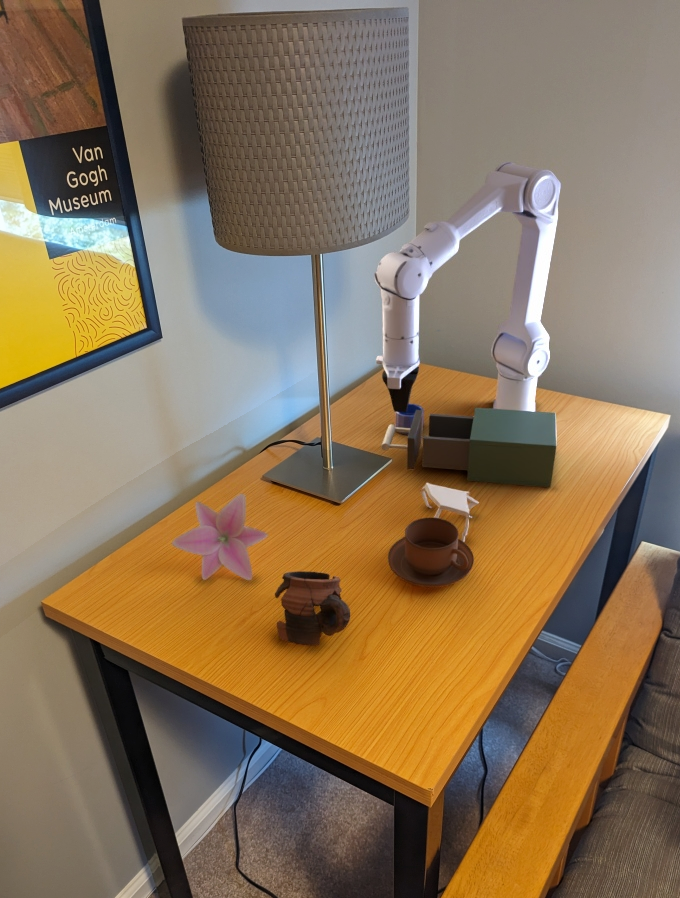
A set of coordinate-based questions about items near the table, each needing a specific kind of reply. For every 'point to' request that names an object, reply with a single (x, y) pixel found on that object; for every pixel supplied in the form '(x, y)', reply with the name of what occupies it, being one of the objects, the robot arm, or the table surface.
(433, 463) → the drawer
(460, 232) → the robot arm
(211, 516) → the lily
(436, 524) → the cup and saucer
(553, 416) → the sage green box
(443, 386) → the table surface
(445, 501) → the origami figure
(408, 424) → the blue cup
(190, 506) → the table surface
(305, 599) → the pottery mug
